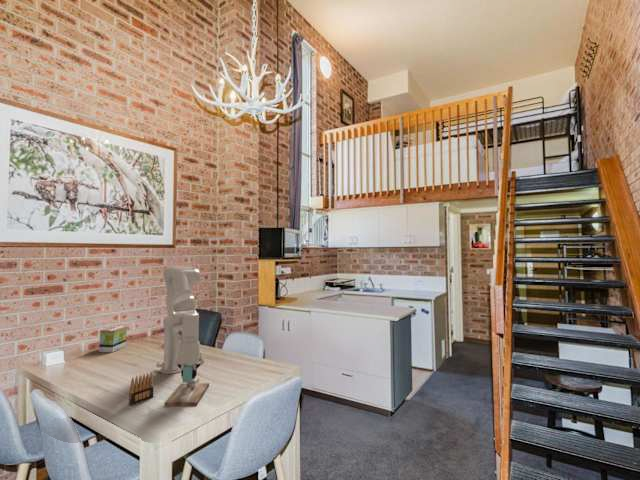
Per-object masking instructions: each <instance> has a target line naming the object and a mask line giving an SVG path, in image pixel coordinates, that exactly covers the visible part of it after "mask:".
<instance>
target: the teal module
mask: <svg viewBox="0 0 640 480" xmlns="http://www.w3.org/2000/svg"><path fill="white" fill-rule="evenodd" d="M192 371H193V364H192V365H185V366H184V367H183V379H182V384H183V383H187V382H192V381H193V380H194V379H195V378H194V379H192Z"/></svg>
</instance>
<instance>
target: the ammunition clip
mask: <svg viewBox="0 0 640 480" xmlns="http://www.w3.org/2000/svg"><path fill="white" fill-rule="evenodd" d="M128 394H129V397H128V405H129V406H134V405H136V403H137V404H139V403H142V402H144V401H147V400H150V399H152V398H154V378H153V371H150V374H149V373H148V372H147V373H146V374H145V373H143V375H141V374H140V375H139V377H138V376H136V377H135V378H134V377H132V378H131V381H130V389H129V393H128Z"/></svg>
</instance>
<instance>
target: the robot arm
mask: <svg viewBox="0 0 640 480" xmlns="http://www.w3.org/2000/svg"><path fill="white" fill-rule="evenodd" d="M162 278H163V281H164V284H165V287H166V304H165V305H166V310H167V313H166V314H167V316H166V317H164V319H163V320H162V325H163V333H164V334H163V335H164V338H163V339H164V342H163V343H164V344H163V345H164V348H163V361H162V362H157V363H155V364H156V365H155V366H156V367H157V368H160V373H161V374H166V375H169V374H172V375H173V374H178V373H180V372H181V373H180V374H181V375H180V376H181V379H182V380H183V367H184V366H185V365H192V364H193V371H192V379H194V378H195V377H197V375H198V374H197V373H198V372H197V371H198V368H199V367H201V366H202V365H204V363H205V360H204V358H203V357H202V348H201V342H200V341H199V330H200V329H199V323H200V320H199V319H200V315H199V312H198V311H197V302H196V298H195V297H194V295H193V290H192V285H198V284H200V283H201V280H202V274H201V272H200V270H199V269H198V268H197V267H195V266H168V267H166V268H164V269H163V271H162ZM178 331H182V336H180V335H179V334H178Z"/></svg>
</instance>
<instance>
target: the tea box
mask: <svg viewBox="0 0 640 480" xmlns="http://www.w3.org/2000/svg"><path fill="white" fill-rule="evenodd" d="M127 331H128V326H127V325H113V326H109V327H106V328H104V329H100V330H99V340H98V341H99V344H98V345H99V346H98V352H99V353H114V352H116V351H119V350H120V349H122V348H125V347H126V346H127V333H128V332H127Z"/></svg>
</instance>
